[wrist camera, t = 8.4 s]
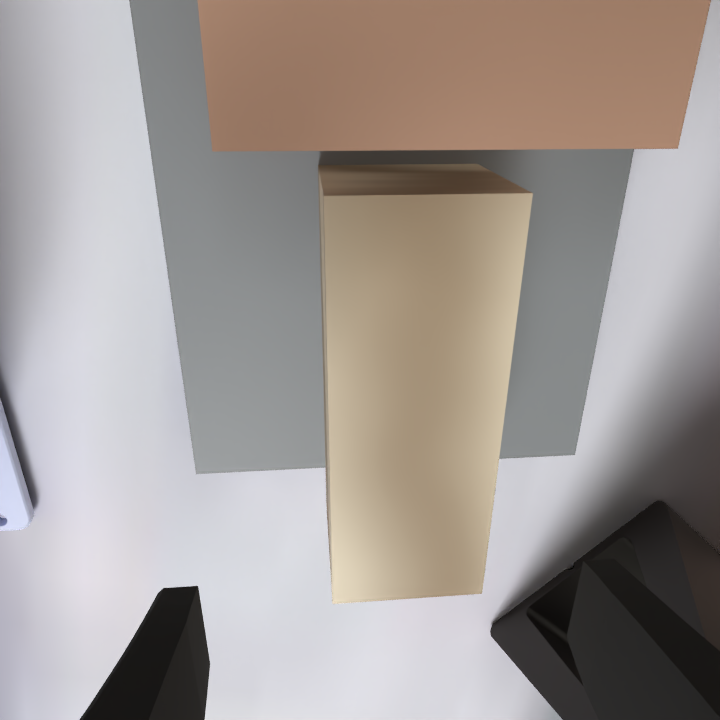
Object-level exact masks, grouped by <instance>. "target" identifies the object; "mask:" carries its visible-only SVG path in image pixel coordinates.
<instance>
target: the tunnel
mask: <svg viewBox="0 0 720 720" xmlns="http://www.w3.org/2000/svg"><path fill="white" fill-rule="evenodd" d="M197 1H198V11H199V21H200V31H201V41H202V52H203V62H204V72H205V82H206V92H207V103H208V113H209V123H210V133H211V143H212V152H220V151H373V150H527V149H678V145H679V140H680V136H681V131H682V127H683V122H684V118H685V114H686V109H687V105H688V100H689V96H690V91H691V87H692V82H693V78H694V73H695V69H696V64H697V60H698V55H699V51H700V47H701V42H702V38H703V33H704V29H705V24H706V20H707V15H708V11H709V6H710V2H711V0H197Z"/></svg>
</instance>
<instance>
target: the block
mask: <svg viewBox="0 0 720 720" xmlns="http://www.w3.org/2000/svg"><path fill="white" fill-rule="evenodd" d="M318 189H319V228H320V267H321V307H322V346H323V385H324V424H325V464H326V503H327V520H328V537H329V553H330V569H331V585H332V602H333V604H338V603H353V602H367V601H382V600H396V599H410V598H425V597H439V596H454V595H468V594H482V589H483V581H484V573H485V565H486V557H487V549H488V542H489V534H490V526H491V518H492V510H493V502H494V495H495V487H496V479H497V471H498V463H499V455H500V448H501V440H502V432H503V424H504V416H505V408H506V400H507V393H508V385H509V377H510V369H511V361H512V353H513V346H514V338H515V330H516V322H517V314H518V306H519V299H520V291H521V283H522V275H523V267H524V259H525V251H526V244H527V236H528V228H529V220H530V212H531V204H532V197H533V193H531V192H530V191H528V190H526V189H524V188H522V187H520V186H518V185H516V184H514V183H513V182H511V181H509V180H507V179H505V178H503V177H501V176H499V175H498V174H496V173H494V172H492V171H490V170H488V169H486V168H484V167H482V166H481V165H479V164H398V165H318Z"/></svg>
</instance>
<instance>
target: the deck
mask: <svg viewBox="0 0 720 720" xmlns="http://www.w3.org/2000/svg"><path fill="white" fill-rule="evenodd" d="M129 1H130V8H131V15H132V22H133V29H134V37H135V44H136V51H137V58H138V65H139V72H140V79H141V86H142V93H143V100H144V107H145V115H146V122H147V129H148V136H149V143H150V150H151V157H152V164H153V171H154V178H155V185H156V193H157V200H158V207H159V214H160V221H161V228H162V235H163V242H164V249H165V256H166V263H167V271H168V278H169V285H170V292H171V299H172V306H173V313H174V320H175V327H176V334H177V342H178V349H179V356H180V363H181V370H182V377H183V384H184V391H185V398H186V405H187V412H188V420H189V427H190V434H191V441H192V448H193V455H194V462H195V469H196V474H205V473H225V472H245V471H265V470H285V469H305V468H324V467H326V464H325V424H324V385H323V346H322V307H321V267H320V228H319V189H318V165H398V164H479V165H481V166H482V167H484V168H486V169H488V170H490V171H492V172H494V173H496V174H498V175H499V176H501V177H503V178H505V179H507V180H509V181H511V182H513V183H514V184H516V185H518V186H520V187H522V188H524V189H526V190H528V191H530V192H531V193H533V197H532V204H531V212H530V220H529V228H528V236H527V244H526V251H525V259H524V267H523V275H522V283H521V291H520V299H519V306H518V314H517V322H516V330H515V338H514V346H513V353H512V361H511V369H510V377H509V385H508V393H507V400H506V408H505V416H504V424H503V432H502V440H501V448H500V455H499V459H503V458H523V457H543V456H563V455H575V451H576V446H577V441H578V436H579V431H580V426H581V421H582V415H583V410H584V405H585V400H586V395H587V390H588V384H589V379H590V374H591V369H592V364H593V359H594V353H595V348H596V343H597V338H598V333H599V328H600V322H601V317H602V312H603V307H604V302H605V297H606V291H607V286H608V281H609V276H610V271H611V266H612V260H613V255H614V250H615V245H616V240H617V235H618V229H619V224H620V219H621V214H622V209H623V204H624V198H625V193H626V188H627V183H628V178H629V173H630V167H631V162H632V157H633V152H634V149H527V150H373V151H220V152H212V143H211V133H210V123H209V113H208V103H207V92H206V82H205V72H204V62H203V52H202V41H201V31H200V21H199V11H198V1H197V0H129Z"/></svg>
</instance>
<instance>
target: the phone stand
mask: <svg viewBox="0 0 720 720" xmlns="http://www.w3.org/2000/svg"><path fill="white" fill-rule="evenodd" d="M602 559H615V560H616V561H617V562H619V563H620V564H621V565H622V566H623V567H624V568H626V569H627V570H628V571H629V572H630V573H631V574H632V575H634V576H635V577H636V578H637V579H638V580H639V581H640V582H641V583H642V584H644V585H645V586H646V587H647V588H648V589H649V590H650V591H651V592H653V593H654V594H655V595H656V596H657V597H658V598H659V599H660V600H662V601H663V602H664V603H665V604H666V605H667V606H668V607H669V608H671V609H672V610H673V611H674V612H675V613H676V614H677V615H678V616H680V617H681V618H682V619H683V620H684V621H685V622H686V623H688V624H689V625H690V626H691V627H692V628H693V629H695V630H696V631H697V632H698V633H699V634H700V635H702V636H703V637H704V638H705V639H706V640H707V641H709V642H710V643H711V644H712V645H713V646H714V647H716V648H717V649H718V650H719V651H720V555H719V554H718V553H717V552H716V551H715V550H714V549H713V548H712V547H711V546H710V545H709V544H708V543H707V542H706V541H705V540H703V539H702V538H701V537H700V536H699V535H698V534H697V533H696V532H695V531H694V530H693V529H692V528H691V527H690V526H689V525H688V524H687V523H685V522H684V521H683V520H682V519H681V518H680V517H679V516H678V515H677V514H676V513H675V512H674V511H673V510H672V509H671V508H670V507H669V506H668V505H666V504H665V503H664V502H662V501H657V502H654V503H653V504H652V505H650V506H649V507H648V508H646V509H645V510H644V511H642V512H641V513H640V514H638V515H637V516H636V517H634V518H633V519H632V520H630V521H629V522H628V523H626V524H625V525H624V526H622V527H621V528H620V529H618V530H617V531H616V532H614V533H613V534H612V535H610V536H609V537H608V538H606V539H605V540H604V541H602V542H601V543H600V544H599V545H597V546H596V547H595V548H593V549H592V550H591V551H589V552H588V553H587V554H585V555H584V556H583V557H581V558H580V559H579V560H577V561H576V562H575V563H574V568H573V569H572V570H568V569H565V570H564V571H563V572H561V573H560V574H559V575H557V576H556V577H555V578H553V579H552V580H551V581H549V582H548V583H547V584H545V585H544V586H543V587H542V588H540V589H539V590H538V591H536V592H535V593H534V594H532V595H531V596H530V597H528V598H527V599H526V600H524V601H523V602H522V603H520V604H519V605H518V606H516V607H515V608H514V609H512V610H511V611H510V612H508V613H507V614H506V615H504V616H503V617H502V618H500V619H499V620H498V621H496V622H495V623H494V624H493V625H492V627H491V631H490V632H491V636H492V638H493V639H494V640H495V641H496V642H497V643H498V645H499V646H500V647H501V648H502V649H503V650H504V652H505V653H506V654H507V655H508V656H509V657H510V659H511V660H512V661H513V662H514V663H515V664H516V666H517V667H518V668H519V669H520V670H521V671H522V673H523V674H524V675H525V676H526V677H527V678H528V680H529V681H530V682H531V683H532V684H533V685H534V687H535V688H536V689H537V690H538V691H539V692H540V694H541V695H542V696H543V697H544V698H545V699H546V701H547V702H548V703H549V704H550V705H551V706H552V708H553V709H554V710H555V711H556V712H557V713H558V715H559V716H560V717H561V718H562V719H563V720H599V719H598V717H597V715H596V713H595V711H594V709H593V707H592V704H591V702H590V700H589V698H588V696H587V694H586V691H585V688H584V686H583V683H582V680H581V677H580V675H579V672H578V669H577V666H576V663H575V660H574V657H573V654H572V651H571V648H570V645H569V642H568V639H567V632H568V628H569V623H570V619H571V614H572V610H573V605H574V601H575V596H576V592H577V587H578V583H579V578H580V574H581V569H582V565H583V561H587V560H602Z"/></svg>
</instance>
